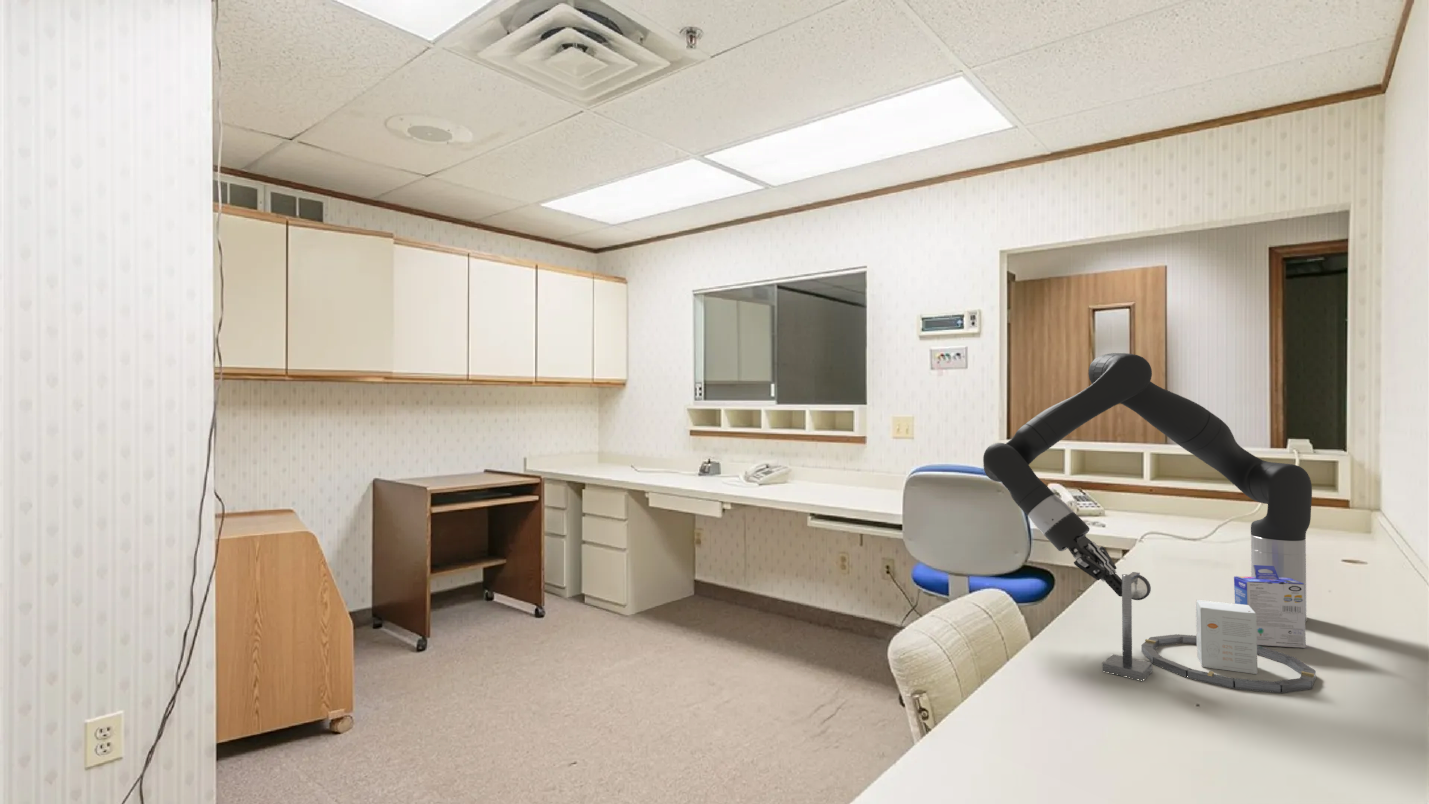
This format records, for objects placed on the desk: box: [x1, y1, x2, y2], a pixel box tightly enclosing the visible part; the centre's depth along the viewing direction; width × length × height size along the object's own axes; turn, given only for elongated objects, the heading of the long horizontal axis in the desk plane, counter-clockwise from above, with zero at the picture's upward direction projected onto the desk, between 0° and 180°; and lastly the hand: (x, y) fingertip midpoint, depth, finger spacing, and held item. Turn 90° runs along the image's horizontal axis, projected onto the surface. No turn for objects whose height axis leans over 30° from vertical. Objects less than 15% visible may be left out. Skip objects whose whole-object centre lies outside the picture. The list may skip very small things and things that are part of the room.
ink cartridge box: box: [1233, 565, 1307, 649], centre depth 133 cm, size 10×6×14 cm, turn 78°
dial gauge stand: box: [1102, 571, 1153, 682], centre depth 120 cm, size 9×6×16 cm, turn 135°
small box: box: [1195, 599, 1259, 675], centre depth 121 cm, size 8×6×10 cm
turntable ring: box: [1141, 633, 1317, 694], centre depth 122 cm, size 24×24×2 cm
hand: (1125, 593), depth 133 cm, fingers closed
